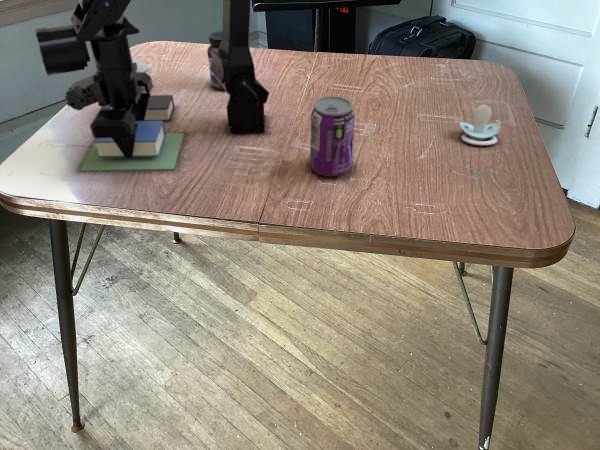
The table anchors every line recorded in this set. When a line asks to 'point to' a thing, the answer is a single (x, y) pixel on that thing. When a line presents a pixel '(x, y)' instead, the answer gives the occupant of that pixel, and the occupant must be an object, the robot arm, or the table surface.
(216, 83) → the pill bottle
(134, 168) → the green mat
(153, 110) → the black notebook
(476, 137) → the pacifier
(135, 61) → the frog figurine
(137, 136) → the blue book
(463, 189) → the table surface
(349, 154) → the beverage can
